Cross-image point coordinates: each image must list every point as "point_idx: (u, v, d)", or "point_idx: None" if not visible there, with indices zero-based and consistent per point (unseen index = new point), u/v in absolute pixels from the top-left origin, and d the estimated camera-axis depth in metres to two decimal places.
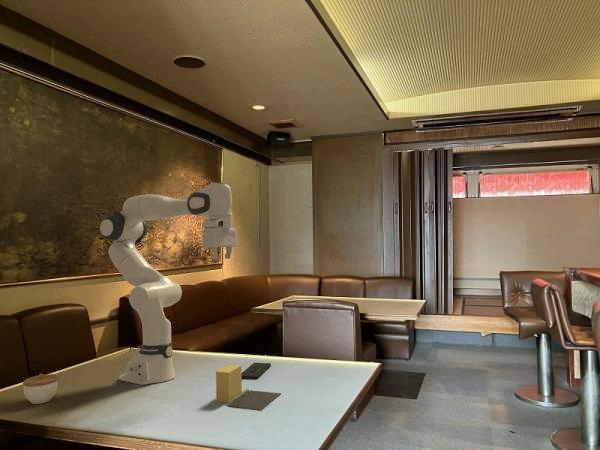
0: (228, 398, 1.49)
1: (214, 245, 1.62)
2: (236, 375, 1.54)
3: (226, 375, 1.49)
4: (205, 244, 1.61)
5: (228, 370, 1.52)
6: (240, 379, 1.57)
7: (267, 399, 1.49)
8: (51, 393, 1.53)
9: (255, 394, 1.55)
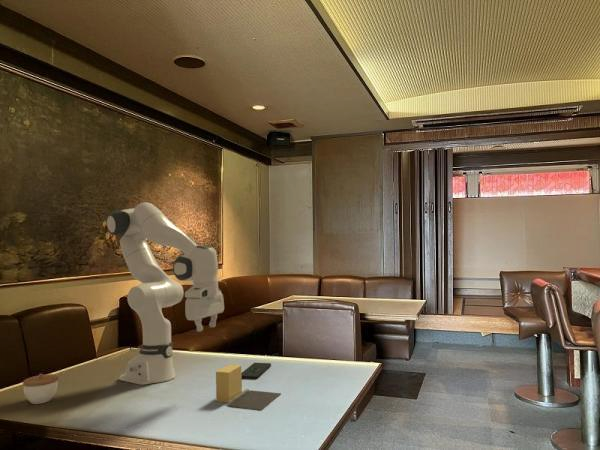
0: (228, 398, 1.49)
1: (197, 317, 1.50)
2: (236, 375, 1.54)
3: (226, 375, 1.49)
4: (188, 317, 1.49)
5: (228, 370, 1.52)
6: (240, 379, 1.57)
7: (267, 399, 1.49)
8: (51, 393, 1.53)
9: (255, 394, 1.55)
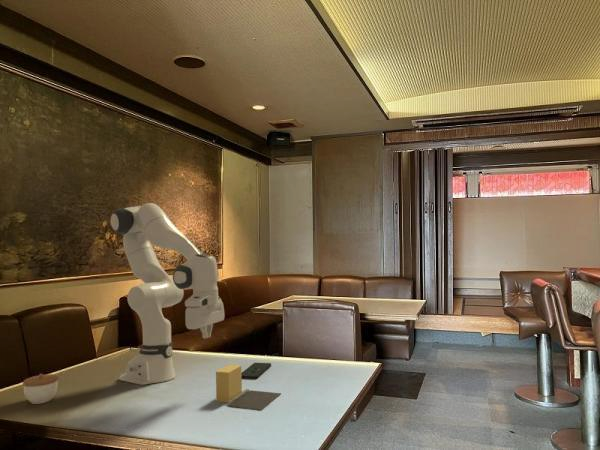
0: (228, 398, 1.49)
1: (198, 326, 1.50)
2: (236, 375, 1.54)
3: (226, 375, 1.49)
4: (188, 326, 1.49)
5: (228, 370, 1.52)
6: (240, 379, 1.57)
7: (267, 399, 1.49)
8: (51, 393, 1.53)
9: (255, 394, 1.55)
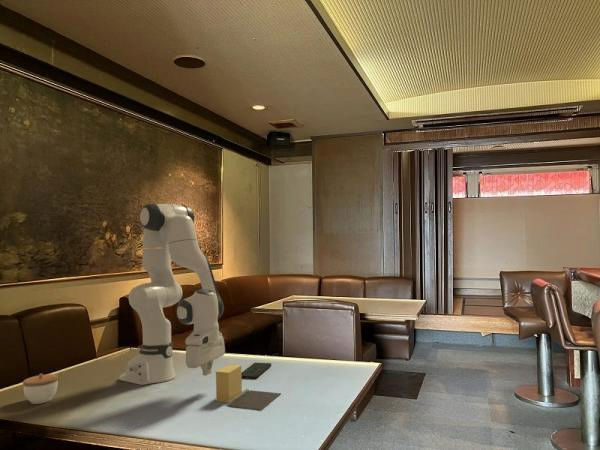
0: (228, 398, 1.49)
1: (198, 365, 1.49)
2: (236, 375, 1.54)
3: (226, 375, 1.49)
4: (188, 364, 1.48)
5: (228, 370, 1.52)
6: (240, 379, 1.57)
7: (267, 399, 1.49)
8: (51, 393, 1.53)
9: (255, 394, 1.55)
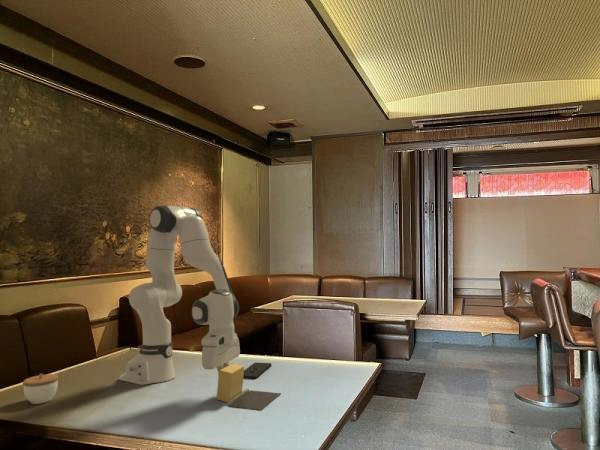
0: (228, 398, 1.49)
1: (214, 366, 1.47)
2: (238, 375, 1.53)
3: (229, 375, 1.49)
4: (204, 366, 1.46)
5: (231, 370, 1.51)
6: (242, 379, 1.56)
7: (267, 399, 1.49)
8: (51, 393, 1.53)
9: (255, 394, 1.55)
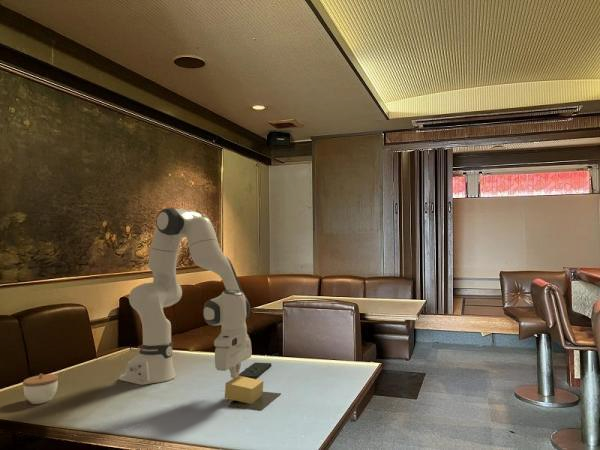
0: (228, 397, 1.49)
1: (227, 367, 1.45)
2: None
3: (248, 401, 1.46)
4: (217, 367, 1.44)
5: (254, 397, 1.48)
6: None
7: (267, 399, 1.49)
8: (51, 393, 1.53)
9: None
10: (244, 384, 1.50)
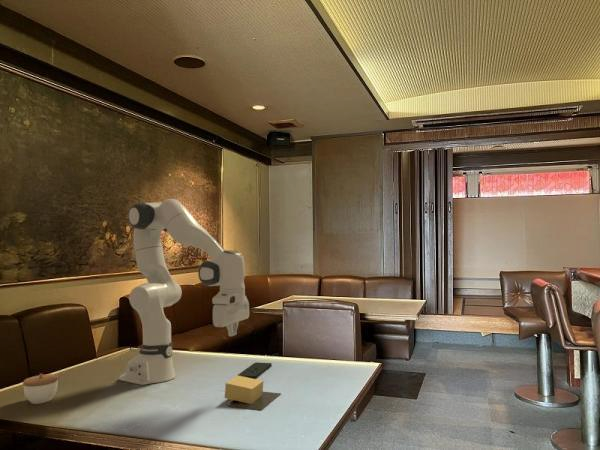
0: (228, 397, 1.49)
1: (225, 324, 1.47)
2: None
3: (248, 401, 1.46)
4: (215, 323, 1.46)
5: (254, 397, 1.48)
6: None
7: (267, 399, 1.49)
8: (51, 393, 1.53)
9: None
10: (244, 384, 1.50)
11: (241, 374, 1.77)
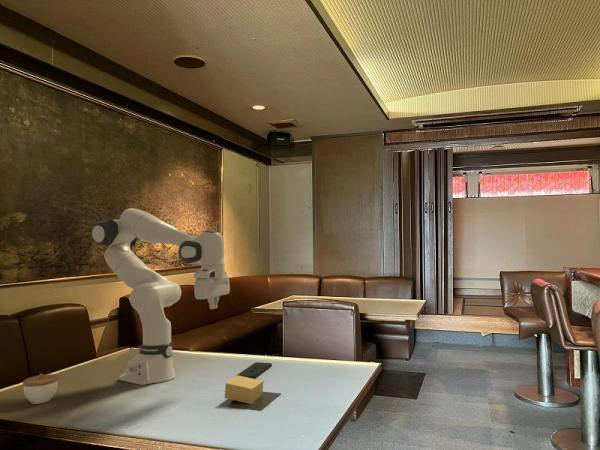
0: (228, 397, 1.49)
1: (206, 297, 1.61)
2: None
3: (248, 401, 1.46)
4: (196, 296, 1.60)
5: (254, 397, 1.48)
6: None
7: (267, 399, 1.49)
8: (51, 393, 1.53)
9: None
10: (244, 384, 1.50)
11: (241, 374, 1.77)
